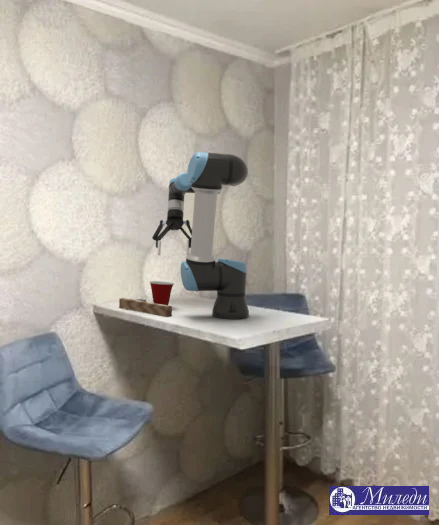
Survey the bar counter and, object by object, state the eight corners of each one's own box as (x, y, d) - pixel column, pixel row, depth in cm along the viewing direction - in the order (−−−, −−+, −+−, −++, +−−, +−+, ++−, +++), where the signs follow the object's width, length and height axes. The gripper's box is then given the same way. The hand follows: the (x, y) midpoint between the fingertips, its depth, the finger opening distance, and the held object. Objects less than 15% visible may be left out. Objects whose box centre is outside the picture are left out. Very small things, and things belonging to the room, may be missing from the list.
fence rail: (185, 313, 197) (185, 303, 197) (166, 317, 188) (166, 306, 188) (138, 305, 215) (138, 295, 215) (119, 307, 207) (119, 298, 206)
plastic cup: (178, 309, 207) (179, 282, 206) (158, 311, 200) (158, 283, 199) (164, 305, 215) (164, 279, 214) (144, 308, 208) (144, 280, 207)
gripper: (202, 213, 225) (201, 256, 221) (151, 213, 229) (149, 256, 224) (200, 207, 218) (198, 252, 213) (147, 208, 221) (144, 252, 217)
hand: (173, 254), depth 218 cm, fingers open, 13 cm apart
